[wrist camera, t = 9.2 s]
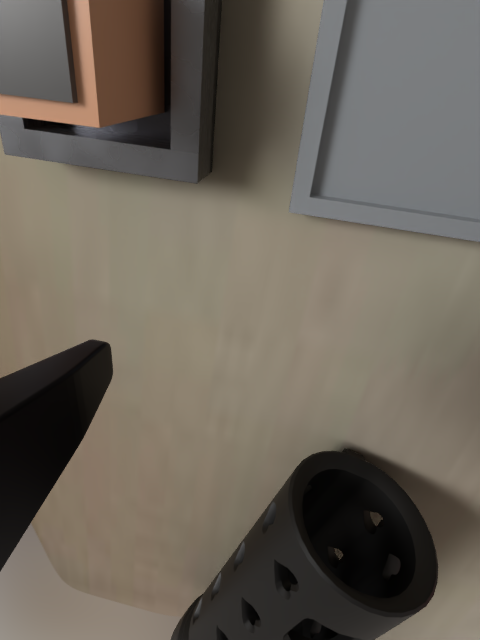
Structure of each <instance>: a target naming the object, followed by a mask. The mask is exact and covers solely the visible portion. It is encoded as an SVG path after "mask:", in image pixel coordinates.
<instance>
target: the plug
mask: <svg viewBox="0 0 480 640" xmlns="http://www.w3.org/2000/svg"><path fill="white" fill-rule="evenodd" d="M160 113H164V0H0V115H7V116H15V117H22V118H30V119H37V120H44V121H52V122H59V123H67V124H74V125H82V126H89V127H97V128H101V127H105V126H110V125H114V124H118V123H122V122H126V121H131V120H135V119H139V118H143V117H148V116H152V115H156V114H160Z"/></svg>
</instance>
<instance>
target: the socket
mask: <svg viewBox="0 0 480 640" xmlns="http://www.w3.org/2000/svg"><path fill="white" fill-rule="evenodd" d="M221 4H222V0H164V113H160V114H156V115H152V116H148V117H143V118H139V119H135V120H131V121H126V122H122V123H118V124H114V125H110V126H105V127H101V128H97V127H89V126H82V125H74V124H67V123H59V122H52V121H44V120H37V119H30V118H22V117H15V116H7V115H0V133H1V138H2V143H3V148H4V153H5V154H6V155H12V156H19V157H25V158H32V159H39V160H45V161H52V162H58V163H65V164H72V165H78V166H85V167H91V168H98V169H105V170H111V171H118V172H124V173H131V174H138V175H144V176H151V177H157V178H164V179H170V180H177V181H184V182H190V183H199V182H200V181H201V180H202V179H203V178H205V177H206V176H207V175H208V174H209V173H211V172H212V159H213V142H214V124H215V107H216V90H217V73H218V55H219V38H220V21H221Z"/></svg>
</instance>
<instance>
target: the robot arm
mask: <svg viewBox="0 0 480 640" xmlns="http://www.w3.org/2000/svg"><path fill="white" fill-rule="evenodd" d="M112 375H113V365H112V354H111V347H110V344H109V343H107V342H103V341H99V340H88V341H86V342H84V343H81V344H79V345H77V346H74V347H72V348H70V349H67V350H65V351H63V352H60V353H58V354H56V355H53V356H51V357H49V358H47V359H44V360H42V361H40V362H37V363H35V364H33V365H30V366H28V367H26V368H23V369H21V370H19V371H16V372H14V373H12V374H9V375H7V376H5V377H2V378H0V571H1V569H2V568H3V566H4V565H5V563H6V561H7V560H8V558H9V557H10V555H11V553H12V552H13V550H14V548H15V547H16V545H17V544H18V542H19V541H20V539H21V537H22V536H23V534H24V533H25V531H26V529H27V528H28V526H29V525H30V523H31V521H32V520H33V518H34V517H35V515H36V513H37V512H38V510H39V509H40V507H41V505H42V504H43V502H44V501H45V499H46V497H47V496H48V494H49V493H50V491H51V489H52V488H53V486H54V485H55V483H56V481H57V480H58V478H59V477H60V475H61V473H62V472H63V470H64V469H65V467H66V465H67V464H68V462H69V461H70V459H71V457H72V456H73V454H74V453H75V451H76V449H77V448H78V446H79V444H80V443H81V441H82V439H83V438H84V436H85V434H86V432H87V430H88V428H89V426H90V424H91V422H92V419H93V417H94V415H95V413H96V411H97V409H98V407H99V405H100V403H101V401H102V399H103V396H104V394H105V392H106V390H107V388H108V386H109V384H110V382H111V379H112Z"/></svg>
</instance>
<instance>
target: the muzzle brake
mask: <svg viewBox="0 0 480 640" xmlns="http://www.w3.org/2000/svg"><path fill="white" fill-rule="evenodd" d="M370 511H372V512H377V513H379V514H380V515H381V516H382V517H383V520H381V521H380V523H379V524H378V526H375V524H374V523H373V521H372V519H371V517H370ZM334 548H337V549H339V550H341V551H342V553H343V557H342V558H341V559H340V560H339V559H338V557H337V556H336V553H335V550H334ZM437 579H438V562H437V555H436V550H435V546H434V543H433V539H432V536H431V534H430V532H429V529H428V527H427V525H426V523H425V521H424V519H423V517H422V516H421V514H420V512H419V510H418V509H417V507H416V505H415V504H414V503H413V501H412V500H411V499H410V497H409V496H408V495H407V494H406V492H405V491H404V490H403V489H402V488H401V487H400V486H399V485H398V484H397V483H396V482H395V481H394V480H393V479H392V478H391V477H389V476H388V475H387V474H386V473H385V472H384V471H382V470H381V469H379V468H378V467H376V466H375V465H373V464H371V463H369V462H367V461H366V460H365V459H364V457H363V456H362V455H360V454H358V453H355V452H353V451H351V450H348V449H344V450H343V452H337V451H323V452H319V453H316V454H312V455H310V456H309V457H307V458H306V459H304V460H303V461H302V462H301V463H300V464H299V465H298V466H297V468H296V469H295V470H294V472H293V473H292V474H291V476H290V477H289V478H288V480H287V481H286V482H285V484H284V485H283V487H282V488H281V489H280V491H279V492H278V493H277V495H276V496H275V497H274V499H273V500H272V501H271V503H270V504H269V506H268V507H267V508H266V510H265V511H264V512H263V514H262V515H261V516H260V518H259V519H258V520H257V522H256V523H255V525H254V526H253V527H252V529H251V530H250V531H249V533H248V534H247V535H246V537H245V538H244V539H243V541H242V542H241V544H240V545H239V546H238V548H237V549H236V550H235V552H234V553H233V554H232V556H231V557H230V558H229V560H228V561H227V563H226V564H225V565H224V567H223V568H222V569H221V571H220V572H219V573H218V575H217V576H216V577H215V579H214V580H213V582H212V583H211V584H210V586H209V587H208V588H207V590H206V591H205V592H204V593H203V594H202V595H201V596H199V597H198V598H197V599H196V600H195V601H194V602H193V603H192V605H191V606H190V607H189V608H188V610H187V611H186V613H185V614H184V615H183V617H182V618H181V619H180V621H179V623H178V625H177V626H176V628H175V630H174V632H173V635H172V637H171V640H375V639H376V638H378V637H379V636H381V635H383V634H384V633H386V632H387V631H389V630H390V629H392V628H394V627H395V626H397V625H398V624H400V623H402V622H403V621H405V620H406V619H408V618H409V617H411V616H413V615H414V614H416V613H417V612H419V611H420V610H421V609H423V608H424V607H426V606H427V604H428V603H429V601H430V600H431V598H432V597H433V595H434V592H435V588H436V585H437Z"/></svg>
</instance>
